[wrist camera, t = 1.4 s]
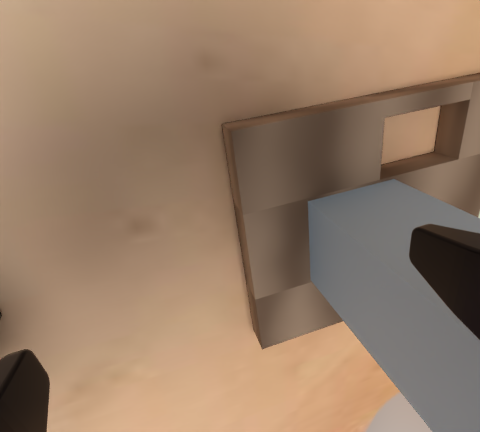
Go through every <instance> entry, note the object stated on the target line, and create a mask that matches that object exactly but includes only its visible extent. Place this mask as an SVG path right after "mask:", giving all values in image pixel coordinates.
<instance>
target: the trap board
mask: <svg viewBox="0 0 480 432" xmlns="http://www.w3.org/2000/svg"><path fill="white" fill-rule="evenodd" d="M437 106H441V111H440V118H439V124H438V131H437V137H436V143H435V150H434V152H432V153H428V154H424V155H420V156H416V157H412V158H408V159H404V160H400V161H396V162H392V163H387V164H383V165H381V158H382V146H383V133H384V120H385V118H386V117H391V116H395V115H400V114H405V113H409V112H414V111H419V110H423V109H428V108H432V107H437ZM222 130H223V136H224V143H225V149H226V155H227V162H228V168H229V175H230V181H231V188H232V194H233V201H234V207H235V213H236V220H237V226H238V233H239V239H240V246H241V252H242V258H243V265H244V271H245V278H246V284H247V291H248V297H249V303H250V310H251V316H252V323H253V329H254V332H255V334H256V336H257V338H258V341H259V343H260V345H261V347H262V349H264V348H267V347H270V346H273V345H276V344H279V343H282V342H284V341H287V340H290V339H293V338H296V337H299V336H302V335H305V334H307V333H310V332H313V331H316V330H319V329H322V328H325V327H327V326H330V325H333V324H336V323H339V322H342V321H343V320H342V318H341V317H340V316H339V315H338V313H337V312H336V311H335V310H334V308H333V307H332V306H331V305H330V303H329V302H328V301H327V300H326V298H325V297H324V296H323V295H322V293H321V292H320V291H319V290H318V289H317V287H316V286H315V285H314V284H313V282H312V281H311V276H310V248H309V220H308V201H311V200H315V199H319V198H323V197H327V196H330V195H334V194H338V193H342V192H346V191H350V190H353V189H357V188H361V187H365V186H369V185H373V184H376V183H380V182H384V181H388V180H392V179H395V180H397V181H400V182H402V183H404V184H406V185H408V186H410V187H413V188H415V189H417V190H419V191H421V192H423V193H426V194H428V195H430V196H432V197H434V198H437V199H439V200H441V201H443V202H445V203H447V204H450V205H452V206H454V207H456V208H458V209H460V210H463V211H465V212H467V213H469V214H471V215H474V216H476V217H478V218H480V73H477V74H472V75H467V76H462V77H457V78H452V79H447V80H442V81H437V82H432V83H427V84H422V85H417V86H412V87H407V88H402V89H396V90H391V91H386V92H381V93H376V94H371V95H366V96H361V97H356V98H351V99H346V100H341V101H336V102H331V103H326V104H321V105H316V106H310V107H305V108H300V109H295V110H290V111H285V112H280V113H275V114H270V115H265V116H260V117H255V118H250V119H245V120H240V121H235V122H230V123H225V124H222Z"/></svg>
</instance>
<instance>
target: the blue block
mask: <svg viewBox="0 0 480 432" xmlns="http://www.w3.org/2000/svg"><path fill="white" fill-rule="evenodd" d="M308 220H309V248H310V276H311V281H312V282H313V284H314V285H315V286H316V287H317V289H318V290H319V291H320V292H321V293H322V295H323V296H324V297H325V298H326V300H327V301H328V302H329V303H330V305H331V306H332V307H333V308H334V310H335V311H336V312H337V313H338V315H339V316H340V317H341V318H342V320H343V321H344V322H345V323H346V325H347V326H348V327H349V328H350V330H351V331H352V332H353V333H354V335H355V336H356V337H357V338H358V339H359V341H360V342H361V343H362V344H363V346H364V347H365V348H366V349H367V351H368V352H369V353H370V354H371V356H372V357H373V358H374V359H375V361H376V362H377V363H378V364H379V366H380V367H381V368H382V369H383V371H384V372H385V373H386V374H387V376H388V377H389V378H390V379H391V381H392V382H393V383H394V384H395V386H396V387H397V388H398V389H399V390H400V392H401V393H402V394H403V395H404V397H405V398H406V399H407V400H408V402H409V403H410V404H411V405H412V407H413V408H414V409H415V410H416V412H417V413H418V414H419V415H420V417H421V418H422V419H423V420H424V422H425V423H426V424H427V425H428V427H429V428H430V429H431V430H432V431H433V432H480V340H479V339H478V338H477V337H476V336H475V335H474V334H473V333H472V332H471V331H470V330H469V329H468V328H467V327H466V326H465V325H464V324H463V323H462V322H461V321H460V320H459V319H458V318H457V317H456V316H455V315H454V313H453V312H452V311H451V310H450V309H449V308H448V307H447V306H446V304H445V303H444V302H443V301H442V300H441V298H440V297H439V296H438V295H437V294H436V292H435V291H434V290H433V289H432V288H431V286H430V285H429V284H428V283H427V281H426V280H425V279H424V278H423V277H422V275H421V274H420V273H419V272H418V271H417V269H416V268H415V267H414V266H413V264H412V263H411V261H410V258H409V249H410V241H411V234H412V231H413V229H415V228H416V227H419V226H422V225H426V224H435V225H440V226H445V227H450V228H455V229H460V230H465V231H471V232H476V233H480V218H478V217H476V216H474V215H471V214H469V213H467V212H465V211H463V210H460V209H458V208H456V207H454V206H452V205H450V204H447V203H445V202H443V201H441V200H439V199H437V198H434V197H432V196H430V195H428V194H426V193H423V192H421V191H419V190H417V189H415V188H413V187H410V186H408V185H406V184H404V183H402V182H400V181H397V180H395V179H392V180H388V181H384V182H380V183H376V184H373V185H369V186H365V187H361V188H357V189H353V190H350V191H346V192H342V193H338V194H334V195H330V196H327V197H323V198H319V199H315V200H311V201H308Z"/></svg>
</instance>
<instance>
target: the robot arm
mask: <svg viewBox="0 0 480 432" xmlns="http://www.w3.org/2000/svg"><path fill="white" fill-rule="evenodd" d="M409 258H410V261H411V263H412V264H413V266H414V267H415V268H416V269H417V271H418V272H419V273H420V274H421V275H422V277H423V278H424V279H425V280H426V281H427V283H428V284H429V285H430V286H431V288H432V289H433V290H434V291H435V292H436V294H437V295H438V296H439V297H440V298H441V300H442V301H443V302H444V303H445V304H446V306H447V307H448V308H449V309H450V310H451V311H452V312H453V313H454V315H455V316H456V317H457V318H458V319H459V320H460V321H461V322H462V323H463V324H464V325H465V326H466V327H467V328H468V329H469V330H470V331H471V332H472V333H473V334H474V335H475V336H476V337H477V338H478V339H479V340H480V233H476V232H471V231H465V230H460V229H455V228H450V227H445V226H440V225H435V224H426V225H422V226H419V227H416V228H415V229H413V231H412V234H411V241H410V249H409ZM1 316H2V314H1V312H0V319H1ZM49 389H50V382H49V377H48V374H47V372H46V371H45V369H44V368H43V366H42V365H41V364H40V362H39V361H38V359H37V358H36V356H35V355H34V353H33V352H32V351H31V350H28V349H24V350H21V351H18V352H14V353H11V354H8V355H6V356H4V357H3V358H2V359H1V360H0V432H47V418H48V403H49Z"/></svg>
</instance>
